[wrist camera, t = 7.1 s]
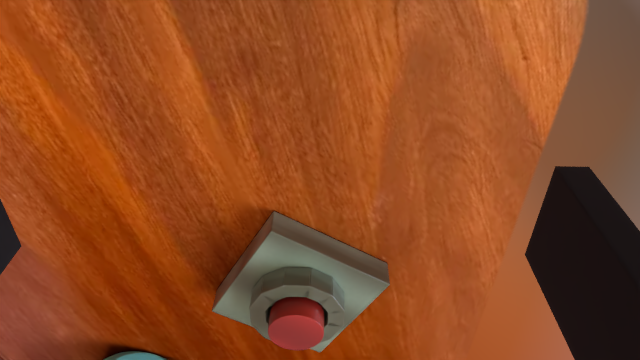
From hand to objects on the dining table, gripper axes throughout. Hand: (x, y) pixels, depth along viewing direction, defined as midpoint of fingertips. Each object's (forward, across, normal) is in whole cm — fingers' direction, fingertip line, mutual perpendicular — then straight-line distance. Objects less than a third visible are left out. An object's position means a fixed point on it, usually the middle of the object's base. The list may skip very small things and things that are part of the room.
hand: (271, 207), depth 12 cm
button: (+15, 0, -22) cm, 26 cm away
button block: (+18, 0, -22) cm, 28 cm away
